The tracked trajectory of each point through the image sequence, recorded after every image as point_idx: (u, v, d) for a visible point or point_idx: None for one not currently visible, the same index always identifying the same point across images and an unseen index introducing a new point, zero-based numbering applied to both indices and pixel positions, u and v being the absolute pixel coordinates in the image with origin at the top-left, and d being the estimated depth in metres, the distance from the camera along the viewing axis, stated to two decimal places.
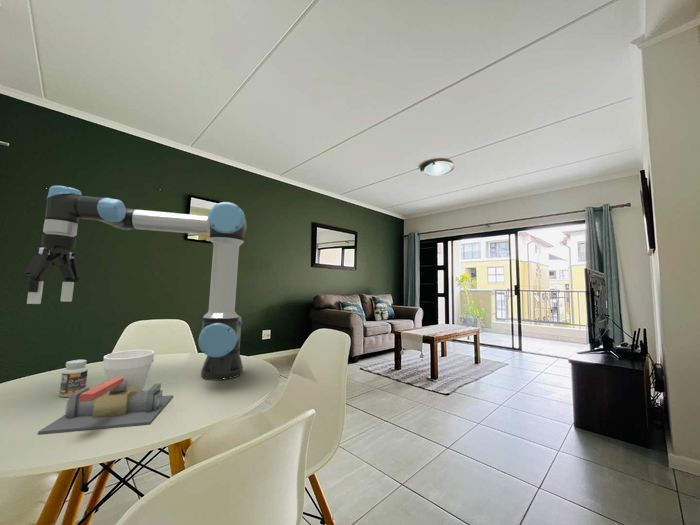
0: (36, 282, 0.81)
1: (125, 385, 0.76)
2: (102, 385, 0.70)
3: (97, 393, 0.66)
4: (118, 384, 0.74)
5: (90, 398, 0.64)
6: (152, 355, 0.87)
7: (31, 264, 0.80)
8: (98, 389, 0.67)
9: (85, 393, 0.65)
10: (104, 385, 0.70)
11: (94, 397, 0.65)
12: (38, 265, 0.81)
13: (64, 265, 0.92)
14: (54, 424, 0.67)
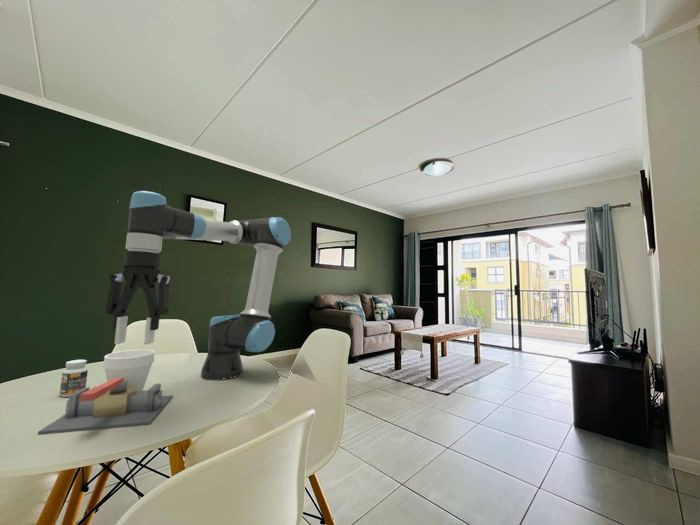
0: (115, 318, 0.70)
1: (125, 385, 0.76)
2: (102, 385, 0.70)
3: (97, 393, 0.66)
4: (118, 384, 0.74)
5: (90, 398, 0.64)
6: (152, 355, 0.88)
7: None
8: (98, 389, 0.67)
9: (85, 393, 0.65)
10: (104, 385, 0.70)
11: (94, 397, 0.65)
12: None
13: None
14: (54, 424, 0.67)
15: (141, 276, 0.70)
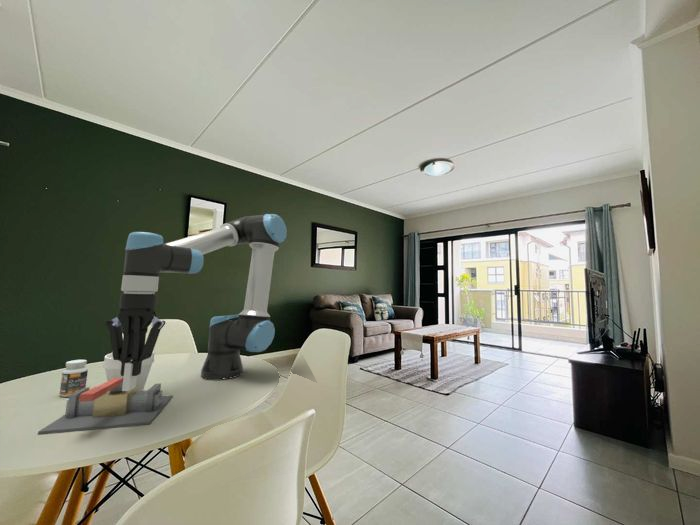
0: (123, 364, 0.69)
1: None
2: (102, 385, 0.70)
3: (97, 393, 0.66)
4: (118, 384, 0.74)
5: (90, 398, 0.64)
6: (153, 355, 0.88)
7: None
8: (98, 389, 0.67)
9: (85, 393, 0.65)
10: (104, 385, 0.70)
11: (94, 397, 0.65)
12: None
13: None
14: (54, 424, 0.67)
15: (136, 319, 0.69)
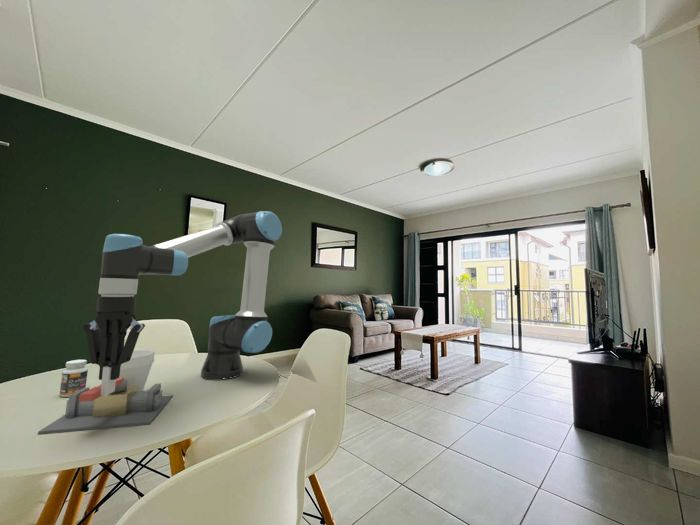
0: (101, 368, 0.68)
1: (125, 385, 0.76)
2: None
3: (97, 393, 0.66)
4: (118, 384, 0.74)
5: (90, 398, 0.64)
6: (153, 355, 0.88)
7: None
8: (98, 389, 0.67)
9: (85, 393, 0.65)
10: None
11: (94, 397, 0.65)
12: None
13: None
14: (54, 424, 0.67)
15: (114, 322, 0.68)
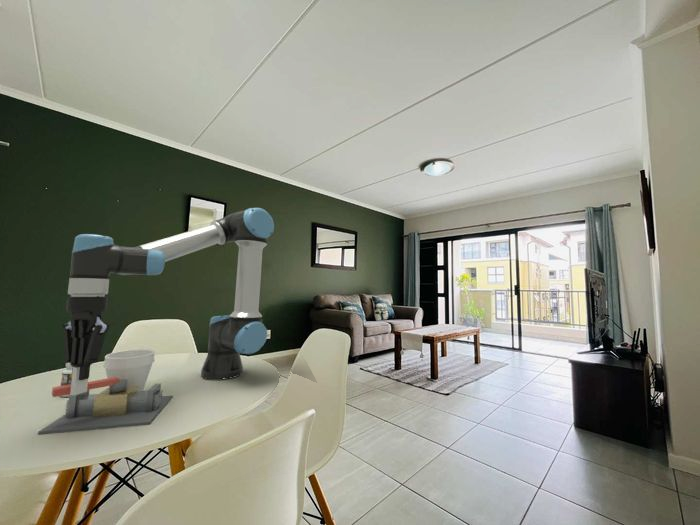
0: None
1: (119, 387, 0.75)
2: None
3: (62, 390, 0.67)
4: (109, 384, 0.74)
5: (53, 394, 0.66)
6: (153, 354, 0.88)
7: None
8: (70, 386, 0.69)
9: (56, 387, 0.68)
10: None
11: (57, 393, 0.66)
12: None
13: None
14: (54, 424, 0.67)
15: (80, 322, 0.68)
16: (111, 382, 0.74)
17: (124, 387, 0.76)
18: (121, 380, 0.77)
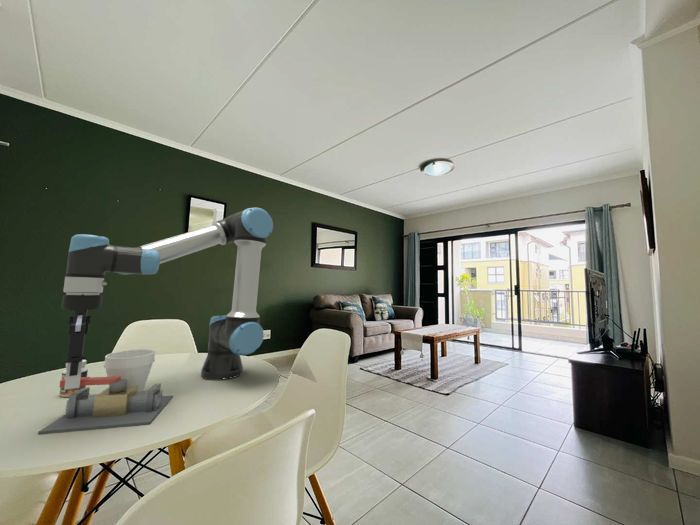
0: None
1: (113, 387, 0.74)
2: (92, 378, 0.75)
3: None
4: (106, 383, 0.75)
5: None
6: (153, 354, 0.88)
7: None
8: None
9: None
10: (89, 378, 0.75)
11: (62, 384, 0.72)
12: None
13: None
14: (54, 424, 0.67)
15: None
16: (108, 381, 0.75)
17: (119, 388, 0.75)
18: (122, 380, 0.77)
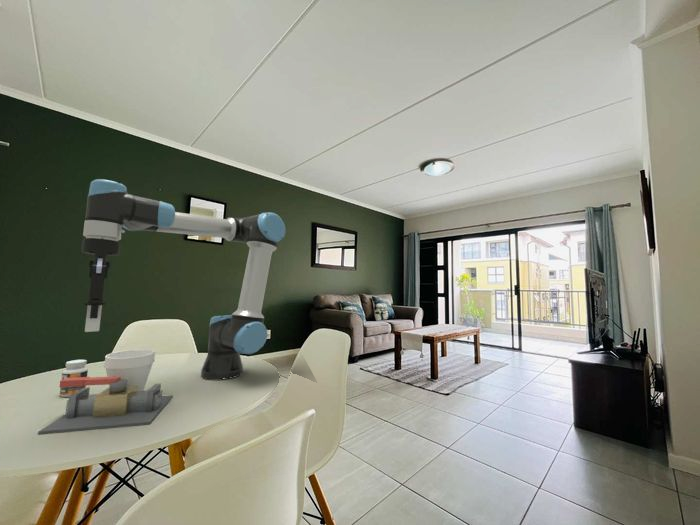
0: None
1: (113, 387, 0.74)
2: (92, 378, 0.75)
3: (67, 382, 0.73)
4: (106, 383, 0.75)
5: None
6: (153, 354, 0.88)
7: None
8: (75, 379, 0.74)
9: (67, 378, 0.74)
10: (89, 378, 0.75)
11: (62, 384, 0.72)
12: None
13: None
14: (54, 424, 0.67)
15: None
16: (108, 381, 0.75)
17: (119, 388, 0.75)
18: (122, 380, 0.77)
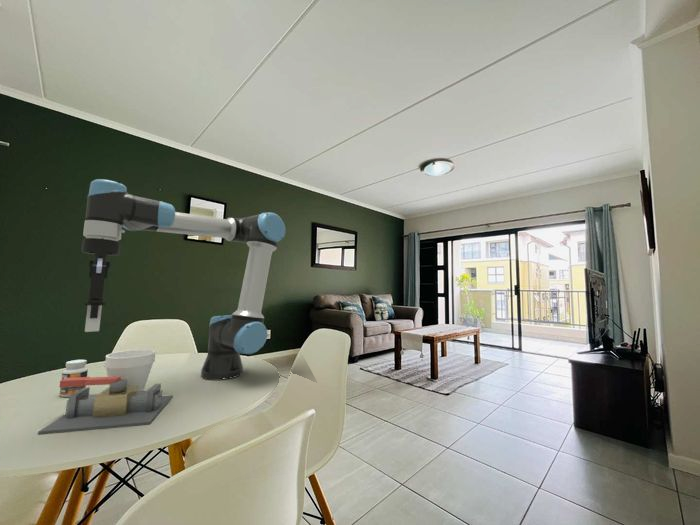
0: None
1: (113, 387, 0.74)
2: (92, 378, 0.75)
3: (67, 382, 0.73)
4: (106, 383, 0.75)
5: None
6: (153, 354, 0.88)
7: None
8: (75, 379, 0.74)
9: (67, 378, 0.74)
10: (89, 378, 0.75)
11: (62, 384, 0.72)
12: None
13: None
14: (54, 424, 0.67)
15: None
16: (108, 381, 0.75)
17: (119, 388, 0.75)
18: (122, 380, 0.77)
